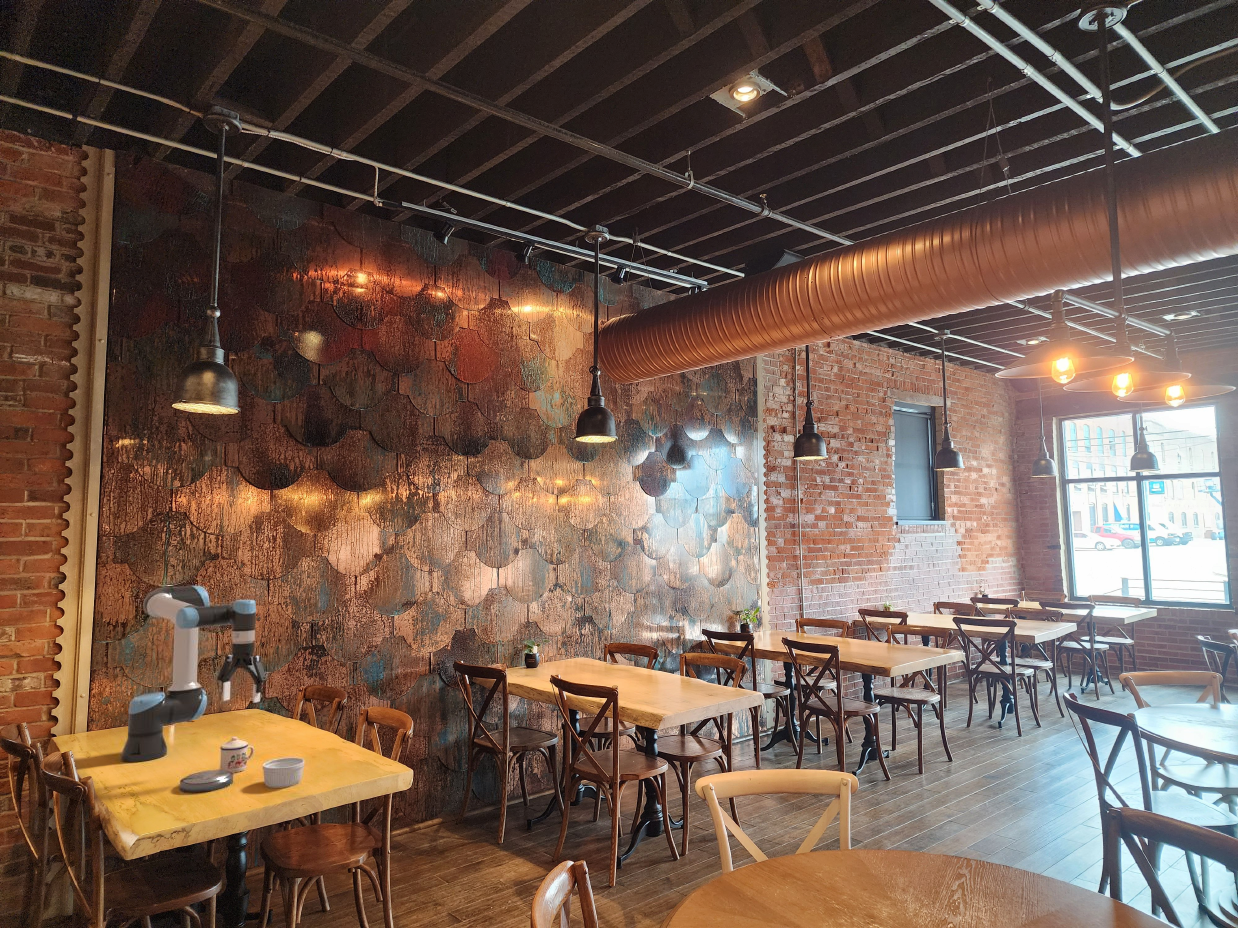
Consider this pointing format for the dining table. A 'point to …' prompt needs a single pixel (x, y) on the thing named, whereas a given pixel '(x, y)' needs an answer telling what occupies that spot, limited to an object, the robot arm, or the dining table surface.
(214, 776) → the dark gray round plate
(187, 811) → the dining table surface
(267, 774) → the ramekin
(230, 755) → the teacup with lid
